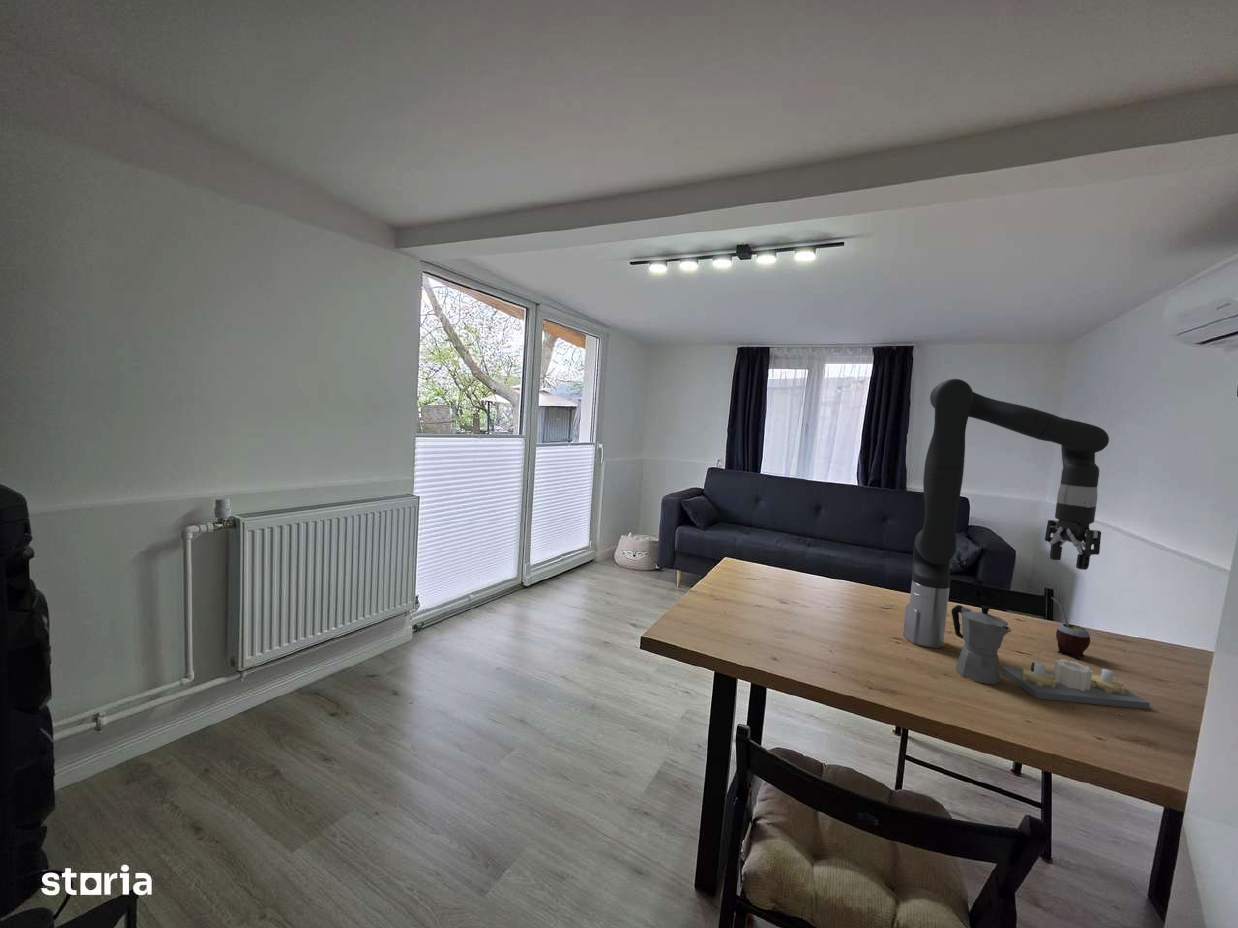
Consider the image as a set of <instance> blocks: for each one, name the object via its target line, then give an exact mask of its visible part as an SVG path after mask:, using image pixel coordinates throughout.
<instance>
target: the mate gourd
mask: <svg viewBox="0 0 1238 928" xmlns="http://www.w3.org/2000/svg"><path fill="white" fill-rule="evenodd" d="M1050 598H1051V600H1053V602H1055V603H1056V605H1058V606H1059V610H1060V611H1061V613H1062V616H1063V619H1064V623H1063V624H1060V625H1059V626H1058V627H1057V630H1056V633H1055V637H1056V640H1057V648H1058V650H1057V652H1058V654H1059V653H1062V654H1061V655H1065V654H1066V656H1071V657H1072V658H1074V659H1076V660H1079V661H1080V659H1081V658H1080V657H1084V656H1085V654H1084V652H1086V651H1087V649H1088V648H1089V646H1090V644H1091V637H1090V633H1089V632H1088V630H1087V629H1086V628H1084V627H1082V626H1079V625H1076V624H1070V623H1069V622H1068V619H1067V615H1066V612H1065V608H1064V606H1062V604H1061V603H1060V602H1059V601H1058V600H1057V599H1055V598H1054V597H1052V596H1051V597H1050ZM1057 652H1056V653H1057Z"/></svg>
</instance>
